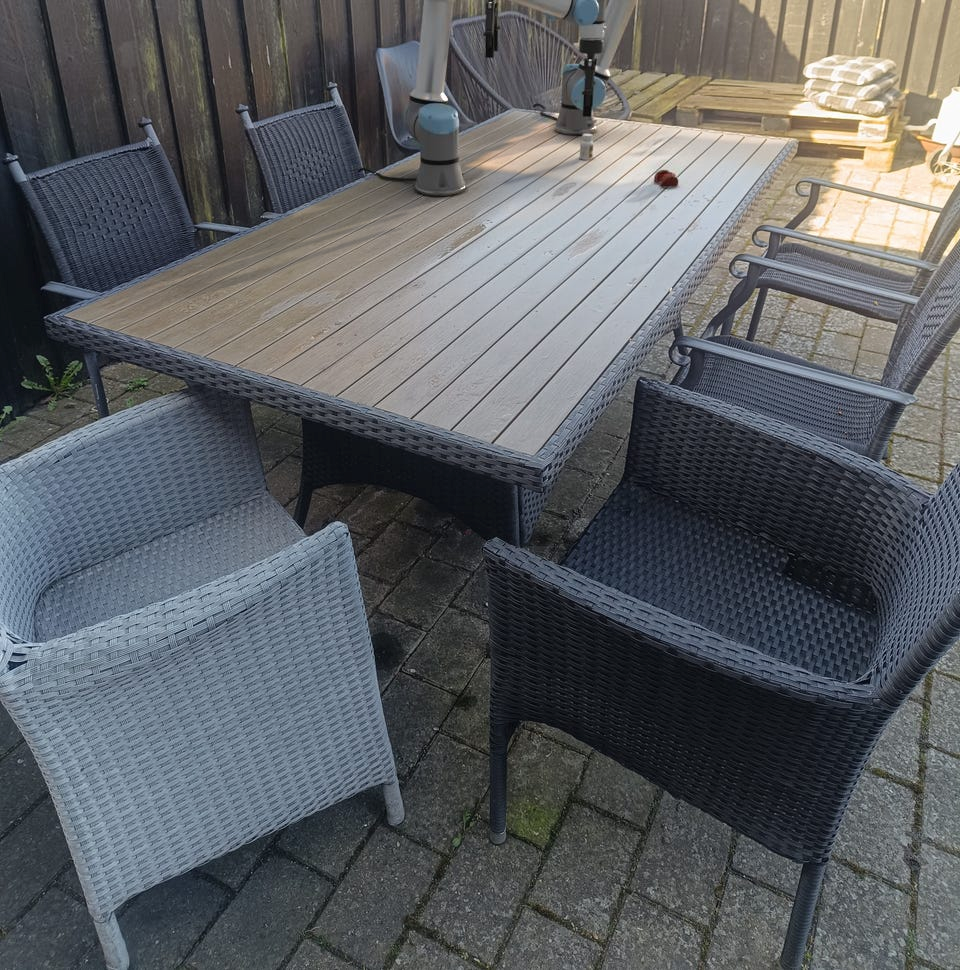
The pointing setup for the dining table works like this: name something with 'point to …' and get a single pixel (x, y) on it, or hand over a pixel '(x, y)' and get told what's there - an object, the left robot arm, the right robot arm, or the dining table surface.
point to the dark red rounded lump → (666, 178)
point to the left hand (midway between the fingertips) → (587, 111)
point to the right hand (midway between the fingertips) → (491, 54)
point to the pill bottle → (586, 147)
